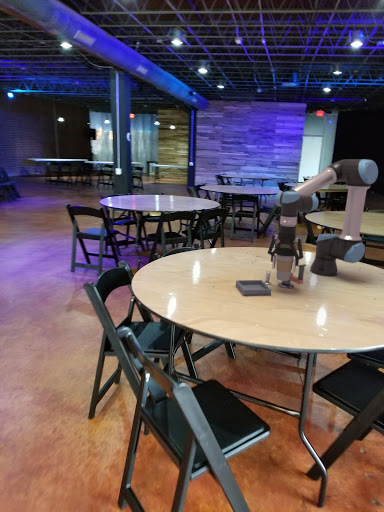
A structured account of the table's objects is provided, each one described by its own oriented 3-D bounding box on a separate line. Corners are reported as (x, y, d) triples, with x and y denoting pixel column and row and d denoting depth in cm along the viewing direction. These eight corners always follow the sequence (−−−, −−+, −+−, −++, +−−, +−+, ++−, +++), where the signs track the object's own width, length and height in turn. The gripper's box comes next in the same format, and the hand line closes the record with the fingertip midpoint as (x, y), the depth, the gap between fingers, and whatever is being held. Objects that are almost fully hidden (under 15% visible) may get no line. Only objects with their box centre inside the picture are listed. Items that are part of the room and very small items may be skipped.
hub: (289, 282, 182) (290, 275, 181) (296, 288, 174) (297, 280, 173) (275, 283, 181) (276, 275, 180) (281, 288, 173) (282, 281, 172)
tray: (261, 285, 176) (261, 280, 175) (270, 295, 163) (271, 289, 163) (235, 285, 174) (236, 280, 173) (243, 296, 161) (244, 290, 160)
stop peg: (269, 282, 182) (270, 270, 180) (272, 284, 178) (273, 272, 176) (262, 282, 181) (263, 270, 179) (264, 284, 177) (266, 272, 176)
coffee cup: (293, 283, 163) (296, 252, 159) (273, 281, 165) (275, 251, 161) (291, 276, 172) (294, 247, 168) (272, 275, 174) (275, 246, 170)
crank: (278, 276, 178) (280, 259, 175) (286, 275, 180) (288, 258, 178) (297, 284, 166) (299, 266, 164) (305, 283, 169) (308, 264, 167)
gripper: (262, 223, 163) (259, 268, 169) (310, 229, 152) (304, 276, 159) (268, 221, 169) (264, 264, 176) (313, 226, 159) (308, 272, 165)
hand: (283, 270), depth 167 cm, fingers closed on coffee cup, 9 cm apart
